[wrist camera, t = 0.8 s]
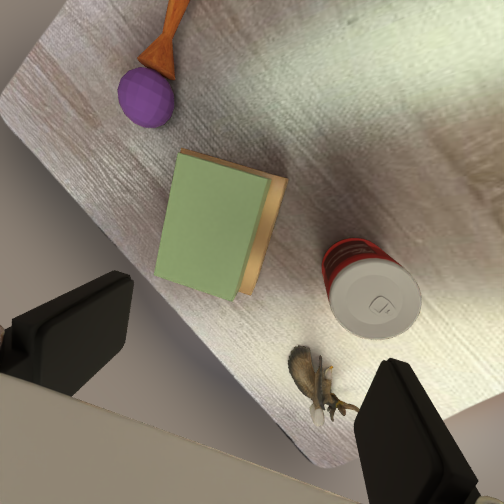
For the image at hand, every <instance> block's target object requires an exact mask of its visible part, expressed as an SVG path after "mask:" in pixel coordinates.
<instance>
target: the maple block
mask: <svg viewBox="0 0 504 504" xmlns="http://www.w3.org/2000/svg"><path fill="white" fill-rule="evenodd" d="M180 153H182V154H187V155H191V156H195V157H198V158H201V159H205V160H208V161H211V162H215V163H218V164H222V165H225V166H228V167H232V168H235V169H238V170H242V171H245V172H249V173H252V174H255V175H259V176H262V177H265V178H269V179H272V181H271V184H270V188H269V191H268V194H267V198H266V201H265V205H264V208H263V212H262V215H261V218H260V222H259V225H258V229H257V232H256V235H255V239H254V242H253V246H252V249H251V252H250V256H249V259H248V263H247V266H246V270H245V273H244V276H243V280H242V283H241V287H240V289H239V291H238V292H241V293H244V294H247V295H250V296H251V295H252V292H253V290H254V288H255V285H256V283H257V280H258V277H259V274H260V270H261V267H262V264H263V261H264V258H265V254H266V251H267V248H268V245H269V241H270V238H271V235H272V232H273V228H274V225H275V222H276V219H277V216H278V212H279V209H280V206H281V203H282V199H283V196H284V193H285V190H286V186H287V183H288V179H287V178H283V177H280V176H277V175H273V174H270V173H266V172H263V171H260V170H256V169H253V168H249V167H246V166H243V165H239V164H236V163H232V162H229V161H226V160H222V159H219V158H216V157H212V156H209V155H205V154H202V153H199V152H195V151H192V150H188V149H185V148H181V151H180Z"/></svg>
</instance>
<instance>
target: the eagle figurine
mask: <svg viewBox="0 0 504 504" xmlns="http://www.w3.org/2000/svg"><path fill="white" fill-rule="evenodd" d="M319 359H320V366H319V368H318V370H317V372H316V374H315V372H314V369H313V366H312V363H311V353H310V349H309V348H306V347H304V346H303V347H301V346H298V347H295V348H294V351H291V356H289V360H288V368H289V372H290V374H291V376H292V378H293V380H294V382H295V384H296V385H297V387H298V389H299V390H300V391H301V392H302V393H303V394H304V395H305V396H307V397H308V398H311V400H313V404H312V405H311V406H310V414H311V417H312V420H313V422H314V424H315V425H316V426H322V425H323V424H324V413H323V410H325V407H324V404H327V405H329V407H328V409H327V411H329V413H330V417H331V420H332V422H334V419H333V415H334V412H335V410H336V408H338V410H339V411H340V413H341V414H342V415H343V416H345V415H346V410H345V409H351V410H355V411H356V412H359V410H360V409H359V408H358V407H356V406H354V405H352V404H347V403H345V402H343V401H340V400H339V399H338V397H336V395H335V394H334V393H330V390H331V378H332V368H333V366H331V367H330V368H328V369H327V370H326V371H325V374H323V368H322V356H321V355H320V357H319Z"/></svg>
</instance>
